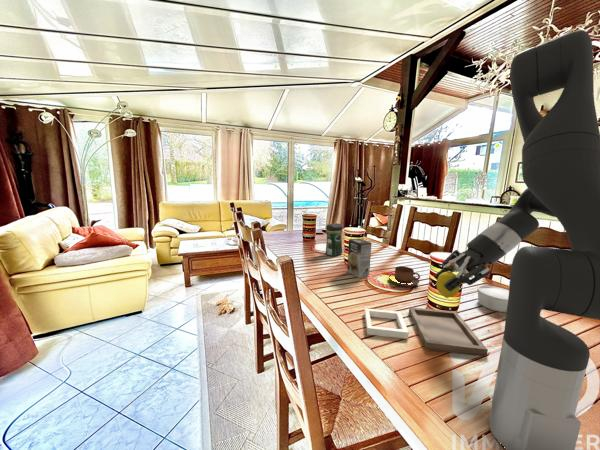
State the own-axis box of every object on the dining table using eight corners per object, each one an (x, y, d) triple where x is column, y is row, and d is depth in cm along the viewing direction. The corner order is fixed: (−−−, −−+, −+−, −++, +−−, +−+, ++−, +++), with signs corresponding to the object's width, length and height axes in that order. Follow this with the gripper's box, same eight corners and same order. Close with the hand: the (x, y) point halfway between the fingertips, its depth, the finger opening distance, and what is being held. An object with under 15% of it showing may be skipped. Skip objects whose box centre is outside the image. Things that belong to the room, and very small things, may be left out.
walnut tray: (486, 356, 60) (487, 349, 60) (426, 349, 63) (426, 342, 62) (455, 317, 77) (456, 311, 77) (408, 312, 80) (409, 307, 80)
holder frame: (408, 339, 67) (408, 332, 66) (367, 334, 69) (367, 328, 68) (399, 317, 77) (400, 311, 77) (364, 314, 79) (364, 308, 79)
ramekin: (489, 296, 92) (491, 283, 91) (524, 311, 81) (526, 296, 80) (467, 300, 88) (469, 287, 87) (501, 316, 78) (503, 301, 77)
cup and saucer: (412, 278, 109) (414, 265, 108) (423, 289, 98) (424, 275, 96) (385, 276, 111) (386, 264, 109) (392, 288, 99) (393, 274, 98)
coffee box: (346, 271, 116) (347, 239, 114) (357, 269, 119) (359, 237, 116) (358, 278, 108) (360, 243, 105) (370, 276, 111) (372, 242, 108)
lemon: (461, 303, 65) (465, 275, 64) (439, 301, 66) (442, 274, 65) (453, 294, 70) (456, 268, 69) (432, 292, 71) (435, 267, 70)
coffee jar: (335, 251, 150) (335, 221, 147) (344, 254, 144) (345, 223, 140) (323, 254, 145) (323, 223, 141) (332, 257, 138) (332, 225, 135)
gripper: (467, 228, 71) (421, 265, 74) (503, 240, 57) (444, 285, 60) (484, 245, 71) (438, 282, 75) (524, 262, 57) (464, 306, 61)
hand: (441, 283), depth 68 cm, fingers closed on lemon, 5 cm apart
